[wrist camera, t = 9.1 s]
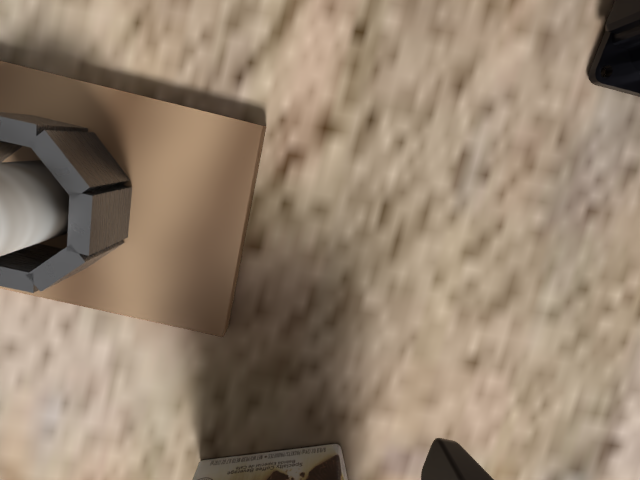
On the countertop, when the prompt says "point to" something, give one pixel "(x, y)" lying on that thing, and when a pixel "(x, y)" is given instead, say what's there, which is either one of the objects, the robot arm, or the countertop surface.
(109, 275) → the tan board with peg
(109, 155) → the hollow octagonal tube
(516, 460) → the countertop surface
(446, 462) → the robot arm
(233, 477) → the coffee box
